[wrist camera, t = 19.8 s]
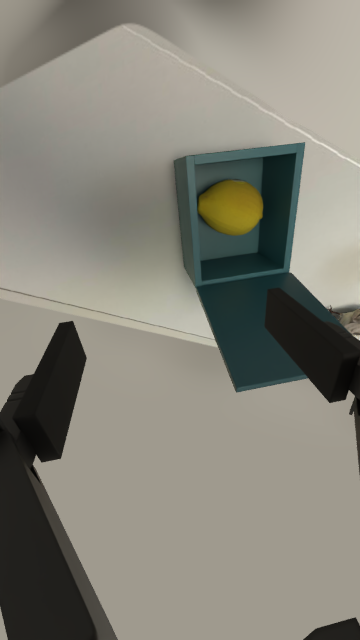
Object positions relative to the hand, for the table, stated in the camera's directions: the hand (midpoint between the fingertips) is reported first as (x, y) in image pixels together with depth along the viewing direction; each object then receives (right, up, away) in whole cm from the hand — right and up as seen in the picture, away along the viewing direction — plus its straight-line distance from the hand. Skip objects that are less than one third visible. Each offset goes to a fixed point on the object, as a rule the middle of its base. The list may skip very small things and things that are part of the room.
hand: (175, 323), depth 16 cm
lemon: (+7, +20, +27) cm, 34 cm away
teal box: (+7, +19, +28) cm, 35 cm away
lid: (+12, +1, +16) cm, 20 cm away
